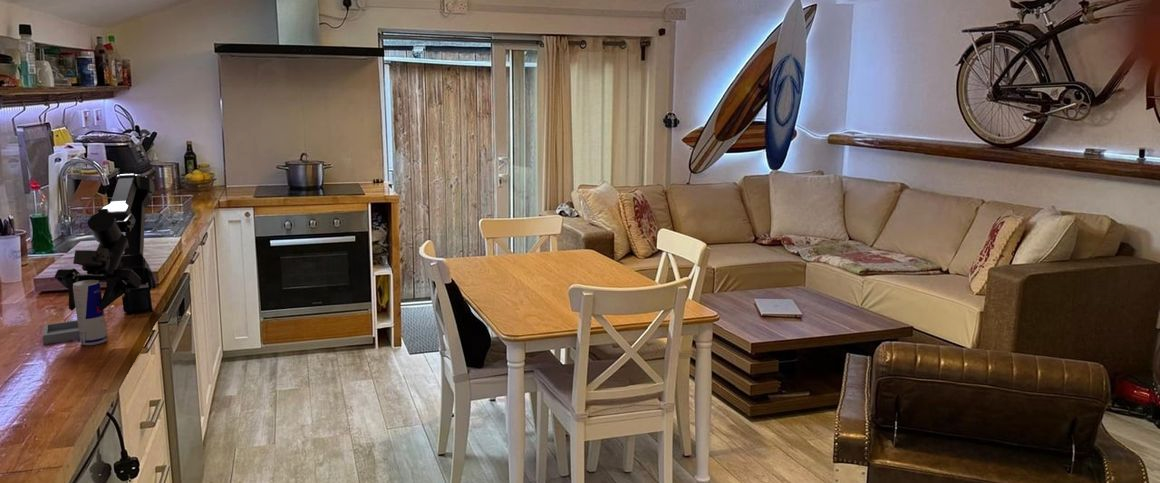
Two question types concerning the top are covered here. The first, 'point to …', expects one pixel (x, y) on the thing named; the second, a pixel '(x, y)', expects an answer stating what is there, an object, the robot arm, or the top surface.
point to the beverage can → (89, 312)
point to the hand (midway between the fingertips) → (85, 309)
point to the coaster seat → (61, 332)
